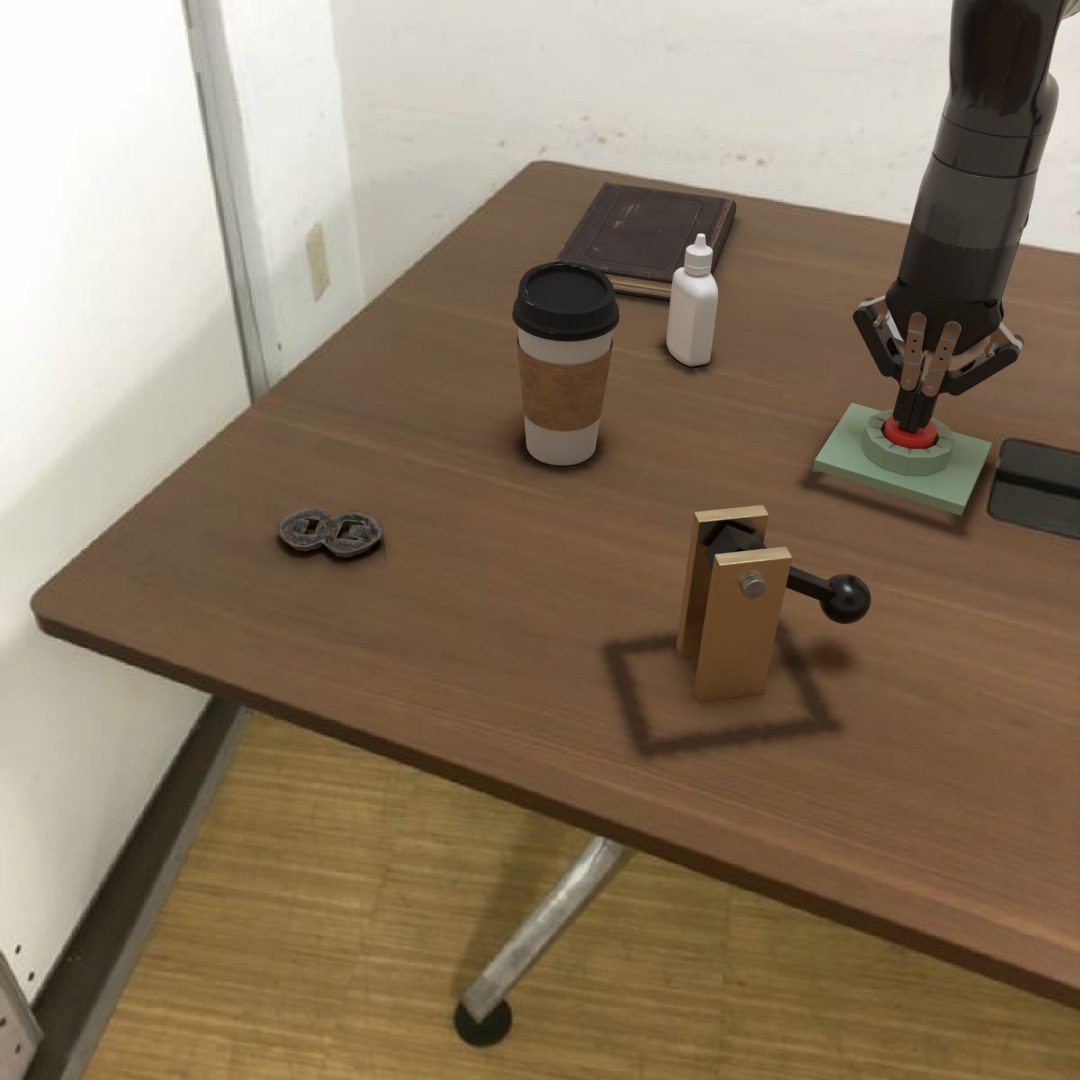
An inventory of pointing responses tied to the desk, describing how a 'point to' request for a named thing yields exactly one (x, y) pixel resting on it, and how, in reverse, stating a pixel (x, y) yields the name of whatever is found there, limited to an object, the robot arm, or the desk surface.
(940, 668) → the desk surface
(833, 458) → the control block
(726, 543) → the black lever handle
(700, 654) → the wooden lever mount
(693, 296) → the eye dropper bottle
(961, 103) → the robot arm
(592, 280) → the coffee cup
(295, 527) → the corroded twin loop
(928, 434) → the button
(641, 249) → the hardcover book
